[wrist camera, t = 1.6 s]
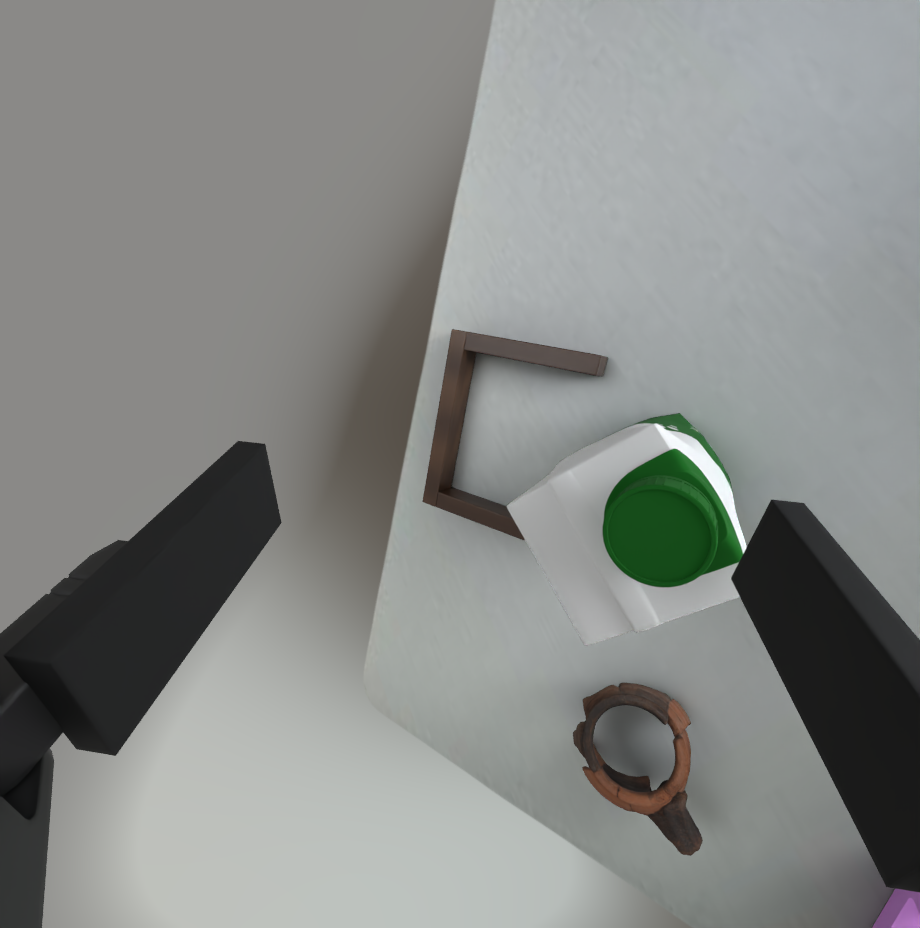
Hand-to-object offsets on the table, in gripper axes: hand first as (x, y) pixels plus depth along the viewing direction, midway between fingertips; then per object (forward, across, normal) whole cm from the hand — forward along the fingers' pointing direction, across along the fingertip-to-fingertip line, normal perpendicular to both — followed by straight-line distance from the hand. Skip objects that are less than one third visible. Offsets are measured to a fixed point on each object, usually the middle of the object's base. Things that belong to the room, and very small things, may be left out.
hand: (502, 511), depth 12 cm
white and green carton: (+22, +12, -11) cm, 27 cm away
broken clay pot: (+13, +15, -32) cm, 37 cm away
